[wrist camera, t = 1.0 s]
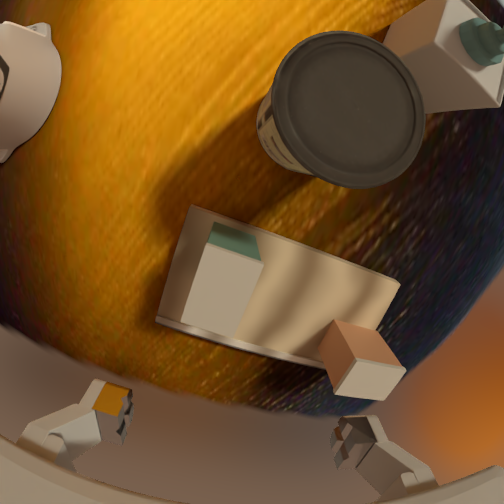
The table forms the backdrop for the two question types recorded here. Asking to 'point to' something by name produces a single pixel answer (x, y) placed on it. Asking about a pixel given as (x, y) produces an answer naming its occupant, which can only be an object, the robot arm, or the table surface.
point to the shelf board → (279, 293)
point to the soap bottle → (451, 54)
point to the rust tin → (359, 362)
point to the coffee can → (343, 111)
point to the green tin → (223, 281)
